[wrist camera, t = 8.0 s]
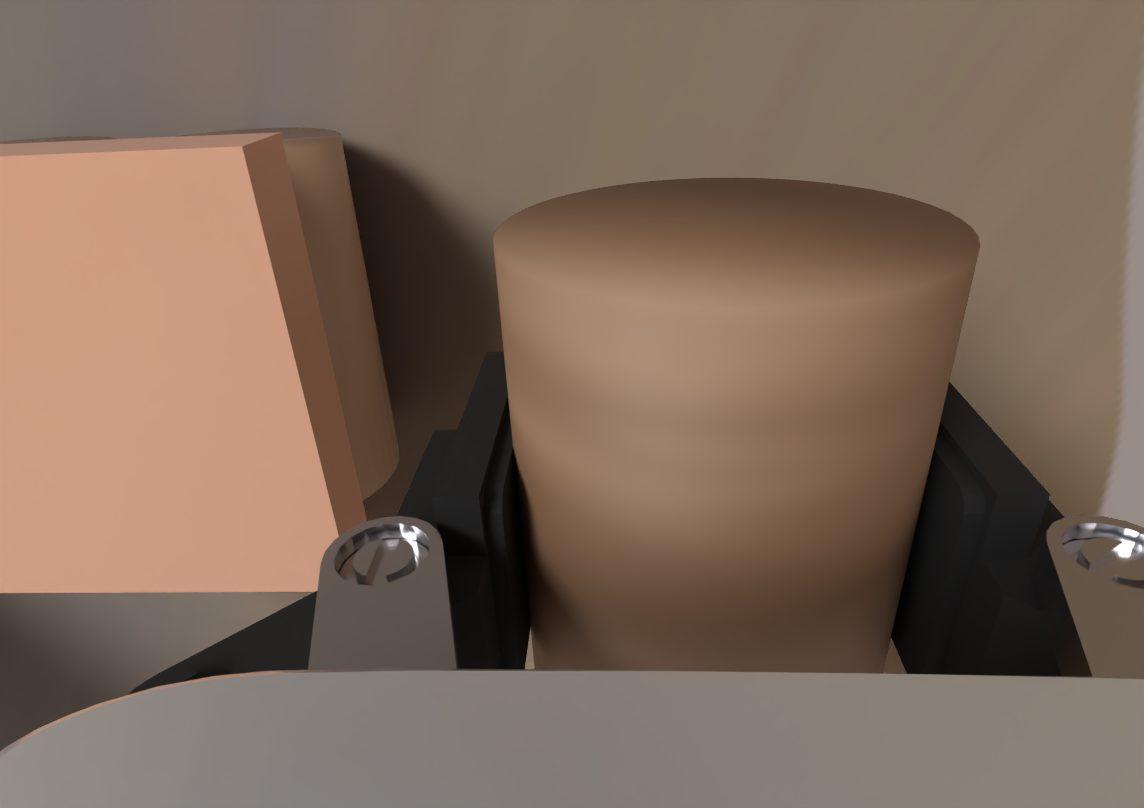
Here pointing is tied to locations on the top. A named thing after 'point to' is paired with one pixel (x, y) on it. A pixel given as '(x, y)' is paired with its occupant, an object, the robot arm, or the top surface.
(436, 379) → the top surface
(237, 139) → the slab
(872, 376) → the roller
